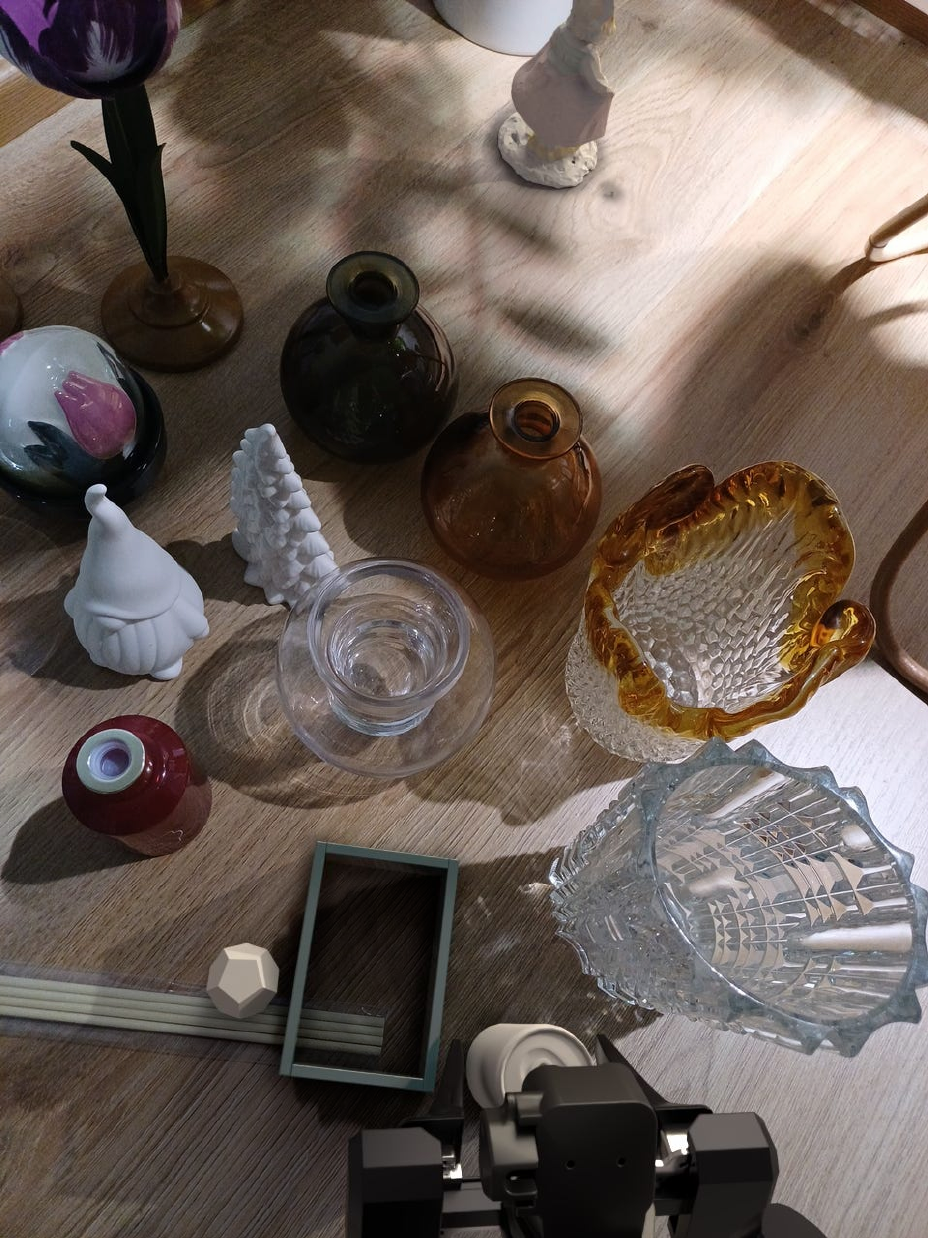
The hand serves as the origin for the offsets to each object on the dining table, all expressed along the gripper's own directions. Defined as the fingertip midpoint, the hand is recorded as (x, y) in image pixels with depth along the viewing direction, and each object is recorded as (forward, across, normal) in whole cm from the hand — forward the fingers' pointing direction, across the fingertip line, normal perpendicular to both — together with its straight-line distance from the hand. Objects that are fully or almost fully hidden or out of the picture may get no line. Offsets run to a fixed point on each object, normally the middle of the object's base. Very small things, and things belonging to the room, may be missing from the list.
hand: (527, 1042), depth 53 cm
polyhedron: (+7, +15, +2) cm, 17 cm away
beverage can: (+4, 0, +6) cm, 7 cm away
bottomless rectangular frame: (+8, +8, +2) cm, 11 cm away
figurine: (+52, -8, -42) cm, 67 cm away
